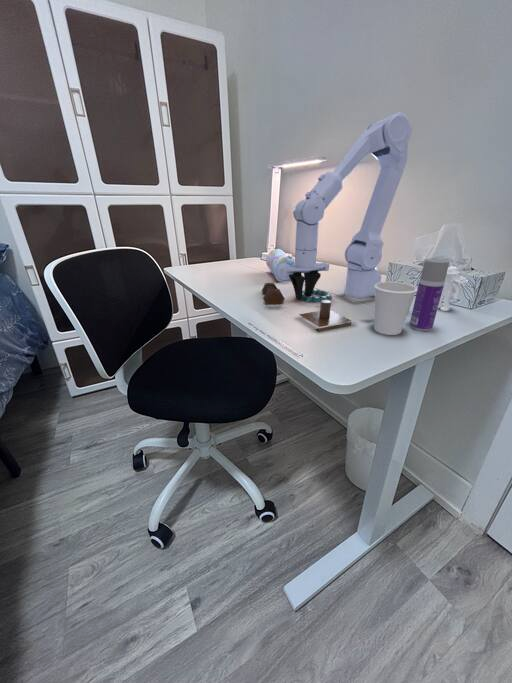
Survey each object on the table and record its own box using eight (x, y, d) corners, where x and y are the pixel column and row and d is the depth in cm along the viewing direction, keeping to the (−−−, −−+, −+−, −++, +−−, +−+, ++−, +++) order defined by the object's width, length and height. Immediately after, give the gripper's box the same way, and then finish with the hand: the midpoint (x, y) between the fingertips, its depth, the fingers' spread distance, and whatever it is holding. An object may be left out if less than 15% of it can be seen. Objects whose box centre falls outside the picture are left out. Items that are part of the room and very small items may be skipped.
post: (328, 313, 76) (330, 294, 73) (351, 325, 68) (354, 304, 66) (298, 318, 73) (299, 298, 70) (318, 331, 65) (320, 309, 63)
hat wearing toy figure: (461, 312, 75) (476, 265, 70) (450, 314, 74) (464, 266, 69) (431, 302, 83) (442, 259, 77) (421, 304, 81) (431, 260, 76)
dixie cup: (384, 320, 71) (392, 279, 66) (416, 332, 64) (426, 288, 60) (359, 327, 67) (366, 284, 63) (389, 340, 60) (399, 294, 56)
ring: (318, 294, 91) (319, 287, 90) (338, 303, 83) (339, 295, 82) (290, 298, 88) (290, 291, 87) (308, 308, 79) (309, 300, 78)
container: (431, 332, 64) (450, 263, 57) (407, 328, 66) (423, 261, 59) (432, 325, 67) (450, 259, 61) (410, 322, 69) (425, 257, 63)
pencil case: (298, 283, 104) (299, 256, 100) (274, 284, 103) (274, 257, 99) (285, 271, 123) (286, 247, 119) (265, 271, 122) (265, 248, 118)
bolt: (270, 298, 94) (276, 312, 80) (257, 291, 93) (261, 304, 79) (279, 282, 92) (287, 294, 78) (266, 275, 91) (271, 285, 77)
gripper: (320, 245, 83) (316, 291, 89) (275, 249, 78) (274, 297, 84) (335, 248, 77) (330, 297, 83) (287, 252, 72) (286, 304, 78)
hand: (303, 298), depth 83 cm, fingers closed on ring, 2 cm apart
